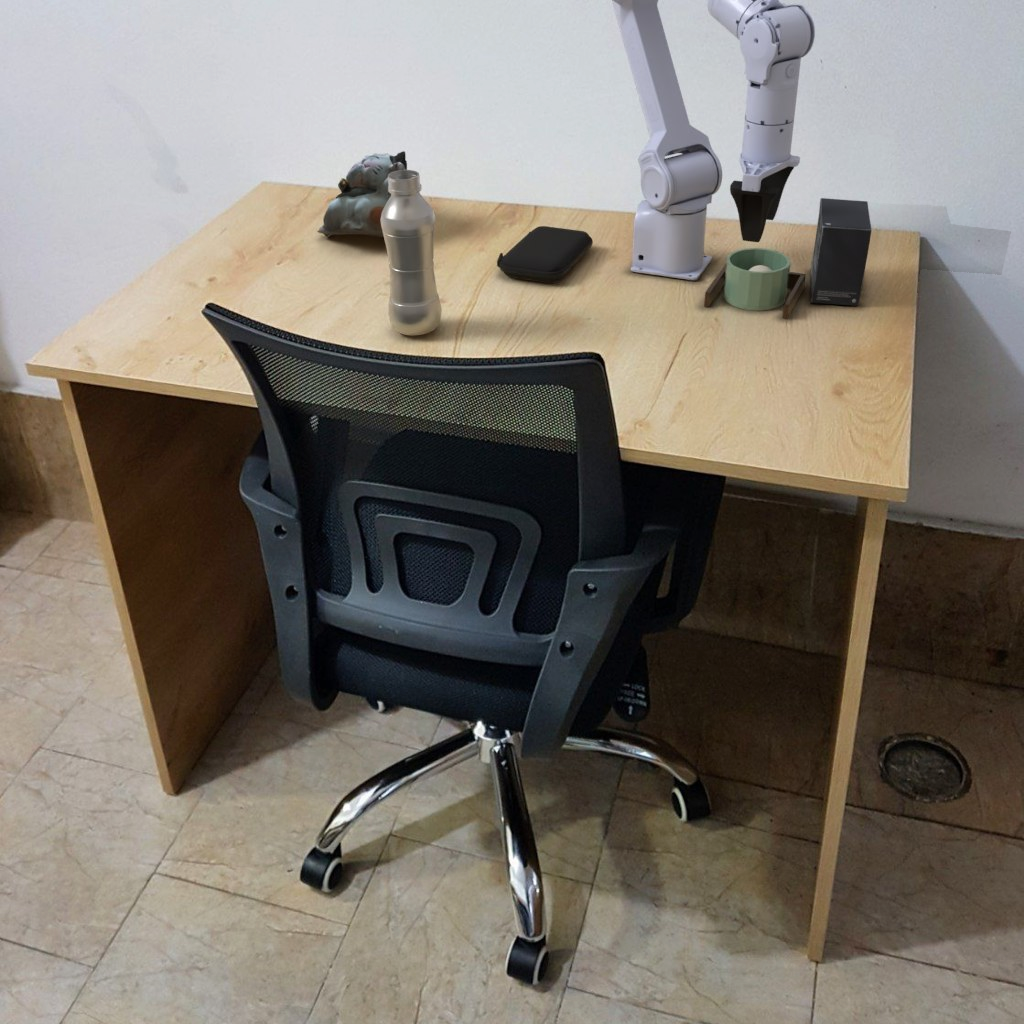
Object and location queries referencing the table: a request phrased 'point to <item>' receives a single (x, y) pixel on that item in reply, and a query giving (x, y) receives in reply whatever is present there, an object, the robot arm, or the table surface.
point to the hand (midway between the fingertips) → (758, 229)
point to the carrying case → (545, 254)
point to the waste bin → (756, 279)
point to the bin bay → (798, 285)
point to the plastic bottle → (410, 256)
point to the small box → (840, 252)
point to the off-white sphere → (760, 268)
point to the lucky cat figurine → (362, 196)
